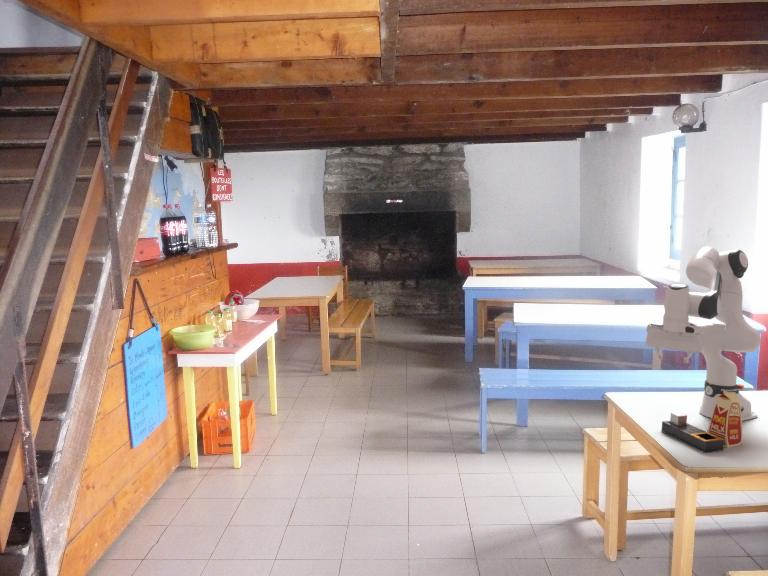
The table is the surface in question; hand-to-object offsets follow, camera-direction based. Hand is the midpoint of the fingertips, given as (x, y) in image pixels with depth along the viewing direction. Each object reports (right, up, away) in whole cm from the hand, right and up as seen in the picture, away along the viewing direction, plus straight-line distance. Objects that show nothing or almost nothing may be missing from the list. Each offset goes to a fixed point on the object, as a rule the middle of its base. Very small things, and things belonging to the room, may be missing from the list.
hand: (672, 360), depth 234 cm
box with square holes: (+3, -29, -8) cm, 30 cm away
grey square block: (+1, -28, -1) cm, 28 cm away
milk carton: (+15, -30, -9) cm, 34 cm away
